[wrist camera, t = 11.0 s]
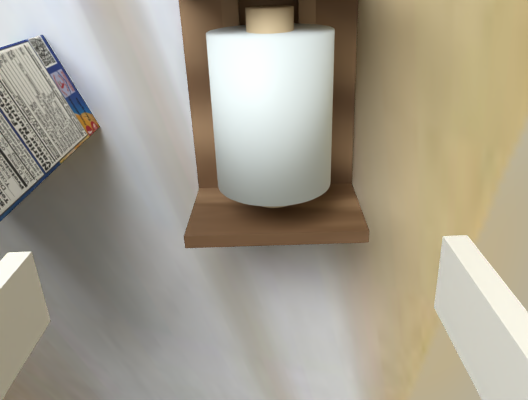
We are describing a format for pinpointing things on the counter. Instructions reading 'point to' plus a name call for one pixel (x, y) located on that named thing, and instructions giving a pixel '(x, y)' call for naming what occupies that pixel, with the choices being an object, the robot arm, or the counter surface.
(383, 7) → the counter surface
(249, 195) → the roll
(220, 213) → the tray
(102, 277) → the counter surface
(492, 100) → the counter surface
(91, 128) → the beverage box
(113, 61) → the counter surface
